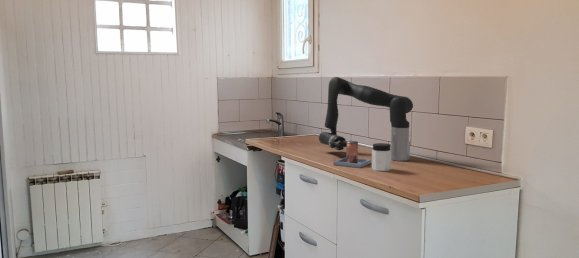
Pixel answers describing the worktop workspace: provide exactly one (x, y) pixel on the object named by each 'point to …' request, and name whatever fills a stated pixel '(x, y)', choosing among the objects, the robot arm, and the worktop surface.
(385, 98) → the robot arm
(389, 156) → the jar
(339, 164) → the tray
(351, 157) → the canister
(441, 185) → the worktop surface
